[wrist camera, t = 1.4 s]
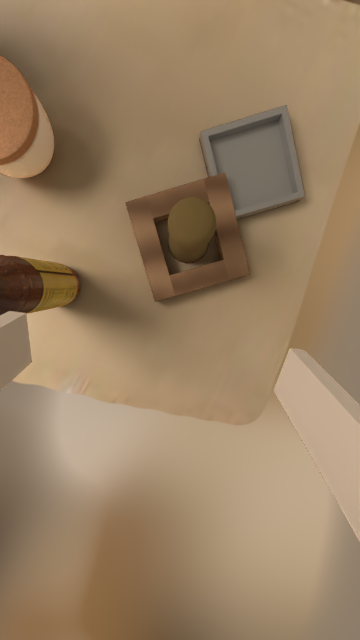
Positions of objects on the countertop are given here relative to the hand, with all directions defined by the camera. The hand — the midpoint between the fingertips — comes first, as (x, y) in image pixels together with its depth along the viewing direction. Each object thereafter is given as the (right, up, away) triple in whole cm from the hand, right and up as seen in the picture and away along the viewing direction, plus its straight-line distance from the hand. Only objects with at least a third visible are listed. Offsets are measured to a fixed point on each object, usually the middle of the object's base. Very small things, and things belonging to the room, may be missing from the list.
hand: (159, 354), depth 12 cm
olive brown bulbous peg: (+2, +13, +22) cm, 26 cm away
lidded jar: (-20, +26, +20) cm, 38 cm away
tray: (+11, +23, +21) cm, 33 cm away
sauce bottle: (-17, +7, +23) cm, 29 cm away
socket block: (+2, +13, +22) cm, 26 cm away
